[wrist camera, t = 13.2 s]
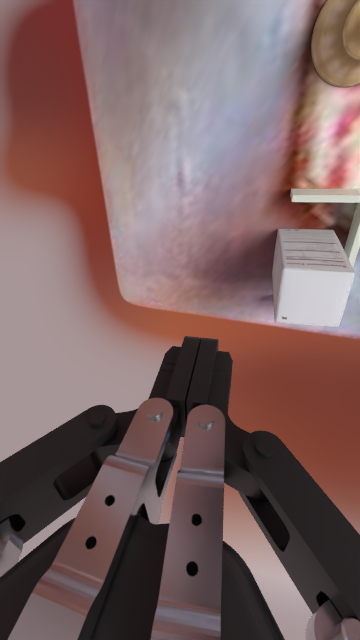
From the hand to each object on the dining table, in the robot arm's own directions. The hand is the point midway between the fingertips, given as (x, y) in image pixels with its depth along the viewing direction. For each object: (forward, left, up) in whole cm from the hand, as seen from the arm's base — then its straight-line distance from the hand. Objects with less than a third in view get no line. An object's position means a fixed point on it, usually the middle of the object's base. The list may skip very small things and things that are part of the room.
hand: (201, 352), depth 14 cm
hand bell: (-9, +14, -33) cm, 37 cm away
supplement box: (+12, +5, -33) cm, 36 cm away
